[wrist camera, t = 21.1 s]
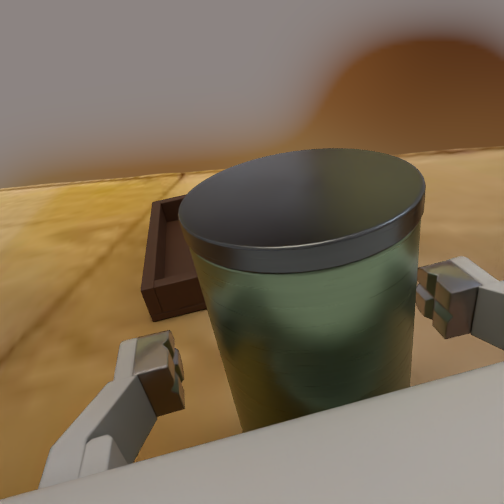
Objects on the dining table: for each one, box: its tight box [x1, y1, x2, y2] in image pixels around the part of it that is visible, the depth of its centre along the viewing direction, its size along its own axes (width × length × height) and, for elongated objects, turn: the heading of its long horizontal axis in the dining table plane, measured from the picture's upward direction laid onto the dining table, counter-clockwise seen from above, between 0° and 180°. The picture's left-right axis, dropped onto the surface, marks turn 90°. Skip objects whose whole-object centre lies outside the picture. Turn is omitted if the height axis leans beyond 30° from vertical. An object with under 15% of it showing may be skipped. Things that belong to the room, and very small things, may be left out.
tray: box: [141, 195, 207, 322], centre depth 30 cm, size 15×15×2 cm
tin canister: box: [178, 148, 426, 433], centre depth 12 cm, size 6×6×11 cm
